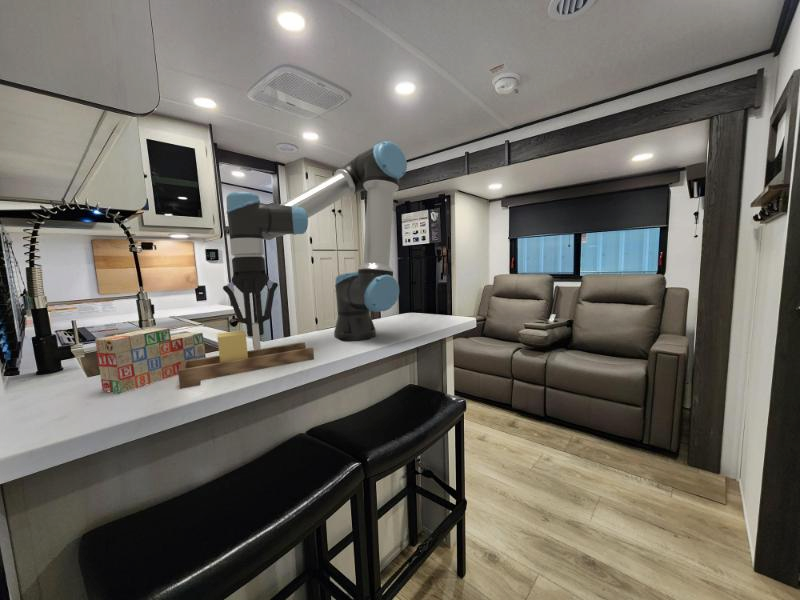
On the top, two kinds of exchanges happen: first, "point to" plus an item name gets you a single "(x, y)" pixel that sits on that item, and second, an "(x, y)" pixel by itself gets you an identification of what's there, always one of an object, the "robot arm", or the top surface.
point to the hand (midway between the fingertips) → (256, 348)
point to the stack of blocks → (144, 357)
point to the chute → (241, 363)
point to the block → (232, 346)
